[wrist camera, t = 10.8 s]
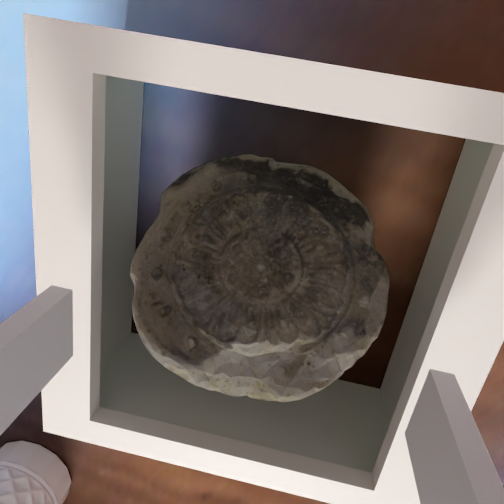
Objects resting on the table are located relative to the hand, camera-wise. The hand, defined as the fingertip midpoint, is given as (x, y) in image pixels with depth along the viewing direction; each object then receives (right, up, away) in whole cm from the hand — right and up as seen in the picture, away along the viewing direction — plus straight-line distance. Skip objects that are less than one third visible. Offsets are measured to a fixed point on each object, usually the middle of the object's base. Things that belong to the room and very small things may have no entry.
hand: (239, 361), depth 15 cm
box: (+2, +4, +10) cm, 11 cm away
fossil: (+2, +4, +8) cm, 9 cm away
